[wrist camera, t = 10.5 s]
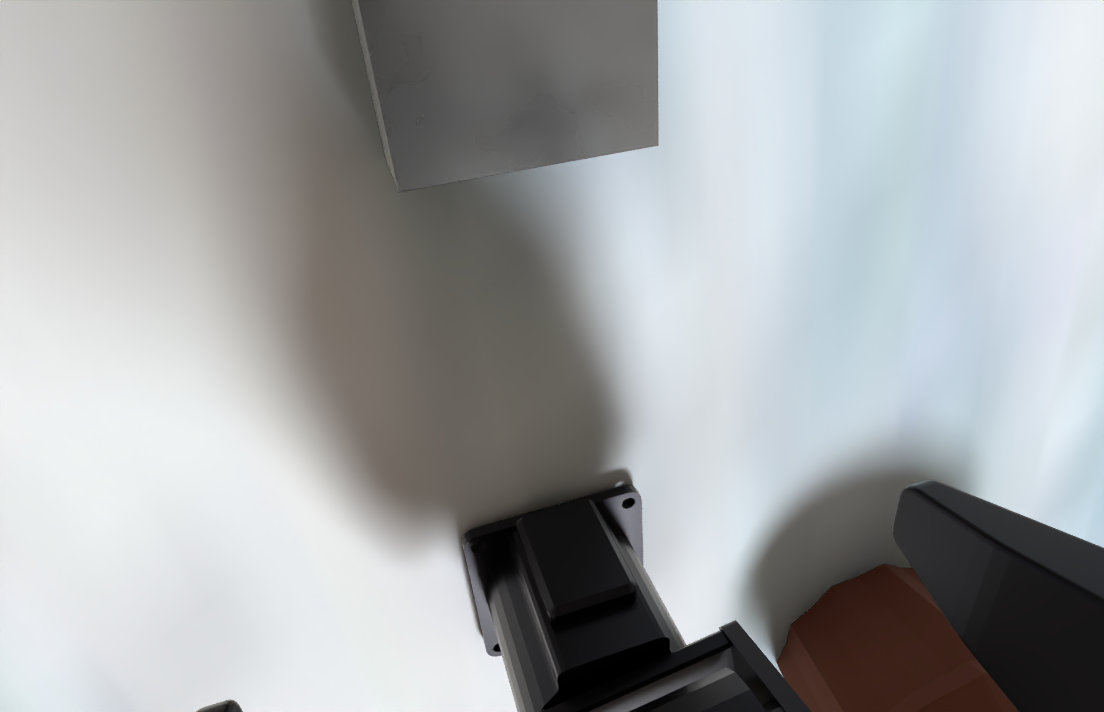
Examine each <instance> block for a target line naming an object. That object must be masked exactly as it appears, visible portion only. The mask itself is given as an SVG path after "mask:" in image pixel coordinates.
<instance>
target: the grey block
mask: <svg viewBox="0 0 1104 712" xmlns="http://www.w3.org/2000/svg"><path fill="white" fill-rule="evenodd" d="M351 1H352V6H353V10H354V15H355V20H356V24H357V29H358V33H359V38H360V43H361V47H362V52H363V56H364V61H365V66H366V70H367V75H368V79H369V84H370V89H371V93H372V98H373V103H374V107H375V112H376V116H377V121H378V126H379V130H380V135H381V139H382V144H383V149H384V153H385V158H386V161H387V163H388V166H389V169H390V171H391V174H392V176H393V179H394V182H395V184H396V187H397V189H398V192H403V191H408V190H414V189H419V188H425V187H431V186H436V185H442V184H447V183H453V182H458V181H464V180H469V179H475V178H481V177H486V176H492V175H497V174H503V173H508V172H514V171H519V170H525V169H531V168H536V167H542V166H547V165H553V164H558V163H564V162H569V161H575V160H581V159H586V158H592V157H597V156H603V155H608V154H614V153H619V152H625V151H630V150H636V149H642V148H647V147H653V146H658V14H657V0H351Z"/></svg>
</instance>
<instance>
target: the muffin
mask: <svg viewBox="0 0 1104 712" xmlns="http://www.w3.org/2000/svg"><path fill="white" fill-rule="evenodd" d="M777 664H778V666H779V669H780V671H781V673H782V675H783V677H784V679H785V680H786V681H787V683H788V684H789V685H790V686H791V687H792V689H793V690H794V691H795V692H796V693H797V695H798V696H799V697H800V698H801V699H802V701H803V702H804V703H805V704H806V705H807V707H808V708H809V709H810V710H811V712H1019V711H1018V710H1017V709H1016V708H1015V707H1014V705H1013V704H1012V703H1011V702H1010V700H1009V699H1008V698H1007V697H1006V695H1005V694H1004V693H1003V692H1002V690H1001V689H1000V688H999V687H998V685H997V684H996V683H995V682H994V680H993V679H992V678H991V677H990V676H989V674H988V673H987V672H986V671H985V669H984V668H983V667H982V666H981V664H980V663H979V662H978V661H977V659H976V658H975V657H974V656H973V654H972V653H971V652H970V651H969V649H968V648H967V647H966V645H965V644H964V643H963V641H962V640H961V639H960V637H959V636H958V635H957V633H956V632H955V630H954V629H953V628H952V626H951V625H950V623H949V622H948V620H947V619H946V617H945V616H944V614H943V613H942V611H941V610H940V608H939V607H938V605H937V604H936V602H935V601H934V599H933V598H932V596H931V595H930V593H929V592H928V590H927V589H926V587H925V586H924V584H923V583H922V581H921V580H920V578H919V577H918V575H917V574H916V572H915V571H914V569H913V568H899V567H895V566H890V565H886V564H882V565H880V566H878V567H876V568H874V569H872V570H870V571H868V572H866V573H864V574H862V575H860V576H858V577H855V578H853V579H850V580H847V581H844V582H842V583H839V584H836V585H834V586H832V587H831V588H830V589H829V590H828V591H827V592H826V593H825V594H824V595H823V596H822V597H821V598H820V599H819V600H818V602H817V603H816V604H815V605H814V606H813V607H812V608H810V609H809V610H808V611H807V612H806V613H804V614H803V615H802V616H801V617H800V618H799V619H797V620H796V621H795V622H794V623H793V624H791V627H790V631H789V634H788V638H787V642H786V645H785V647H784V649H783V651H782V653H781V655H780V657H779V659H778V662H777Z"/></svg>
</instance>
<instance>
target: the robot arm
mask: <svg viewBox="0 0 1104 712" xmlns="http://www.w3.org/2000/svg"><path fill="white" fill-rule="evenodd" d="M627 498H629V499H628V500H626V501H624V500H625V499H627ZM892 529H893V535H894V539H895V541H896V543H897V545H898V547H899V548H900V550H901V551H902V553H903V554H904V556H905V557H906V559H907V560H908V562H909V563H910V565H911V566H912V568H913V569H914V571H915V572H916V574H917V575H918V577H919V578H920V580H921V581H922V583H923V584H924V586H925V587H926V589H927V590H928V592H929V593H930V595H931V596H932V598H933V599H934V601H935V602H936V604H937V605H938V607H939V608H940V610H941V611H942V613H943V614H944V616H945V617H946V619H947V620H948V622H949V623H950V625H951V626H952V628H953V629H954V630H955V632H956V633H957V635H958V636H959V637H960V639H961V640H962V641H963V643H964V644H965V645H966V647H967V648H968V649H969V651H970V652H971V653H972V654H973V656H974V657H975V658H976V659H977V661H978V662H979V663H980V664H981V666H982V667H983V668H984V669H985V671H986V672H987V673H988V674H989V676H990V677H991V678H992V679H993V680H994V682H995V683H996V684H997V685H998V687H999V688H1000V689H1001V690H1002V692H1003V693H1004V694H1005V695H1006V697H1007V698H1008V699H1009V700H1010V702H1011V703H1012V704H1013V705H1014V707H1015V708H1016V709H1017V710H1018V711H1019V712H1104V548H1103V547H1100V546H1098V545H1095V544H1093V543H1090V542H1088V541H1085V540H1083V539H1080V538H1078V537H1075V536H1073V535H1070V534H1068V533H1065V532H1063V531H1060V530H1058V529H1055V528H1053V527H1050V526H1048V525H1045V524H1043V523H1040V522H1038V521H1035V520H1033V519H1030V518H1028V517H1025V516H1023V515H1020V514H1018V513H1015V512H1013V511H1010V510H1008V509H1005V508H1003V507H1000V506H998V505H995V504H993V503H990V502H988V501H985V500H983V499H980V498H978V497H975V496H973V495H970V494H968V493H965V492H963V491H960V490H958V489H955V488H953V487H950V486H948V485H945V484H943V483H940V482H938V481H934V480H925V481H921V482H918V483H915V484H912V485H909V486H906V487H905V488H904V489H903V490H902V491H901V494H900V497H899V501H898V505H897V509H896V514H895V518H894V522H893V527H892ZM481 541H482V542H481ZM476 542H481V543H479V544H474V543H476ZM473 544H474V545H473ZM462 545H463V549H464V554H465V558H466V563H467V567H468V572H469V576H470V581H471V585H472V590H473V594H474V599H475V603H476V607H477V612H478V616H479V621H480V625H481V630H482V634H483V639H484V643H485V647H486V651H487V653H488V654H489V655H491V656H501V655H502V657H503V661H504V664H505V668H506V671H507V675H508V678H509V682H510V686H511V689H512V693H513V696H514V700H515V704H516V707H517V711H518V712H811V710H810V709H809V708H808V707H807V705H806V704H805V703H804V702H803V701H802V699H801V698H800V697H799V696H798V695H797V693H796V692H795V691H794V690H793V689H792V687H791V686H790V685H789V684H788V683H787V681H786V680H785V679H784V678H783V677H782V675H781V674H780V673H779V672H778V670H777V669H776V668H775V667H774V666H773V664H772V663H771V662H770V661H769V660H768V658H767V657H766V656H765V655H764V654H763V652H762V651H761V650H760V649H759V648H758V646H757V645H756V644H755V643H754V642H753V640H752V639H751V638H750V637H749V636H748V634H747V633H746V632H745V631H744V629H743V628H742V627H741V626H740V625H739V623H738V622H737V621H736V620H735V621H732V622H730V623H728V624H726V625H724V626H721V627H719V629H720V631H718V632H716V633H713V634H711V635H709V636H707V637H704V638H702V639H700V640H698V641H696V642H693V643H691V644H689V645H686V644H685V642H684V640H683V638H682V636H681V634H680V633H679V631H678V629H677V627H676V625H675V624H674V622H673V620H672V618H671V616H670V614H669V613H668V611H667V609H666V607H665V605H664V603H663V602H662V600H661V598H660V596H659V594H658V592H657V591H656V589H655V587H654V585H653V583H652V582H651V580H650V578H649V576H648V574H647V572H646V571H645V569H644V567H643V538H642V501H641V496H640V494H639V493H638V491H637V490H636V488H635V487H634V486H631V485H625V486H621V487H617V488H614V489H610V490H607V491H603V492H600V493H596V494H593V495H589V496H586V497H583V498H579V499H576V500H572V501H569V502H565V503H562V504H558V505H555V506H551V507H548V508H544V509H541V510H537V511H534V512H530V513H527V514H523V515H520V516H516V517H513V518H509V519H506V520H502V521H499V522H495V523H492V524H488V525H485V526H481V527H478V528H474V529H472V530H470V531H468V532H467V533H466V534H465V535H464V537H463V538H462ZM197 712H243V711H242V709H241V708H240V706H239V705H238V703H237V702H236V701H234V700H226V701H223V702H220V703H217V704H213V705H210V706H207V707H204V708H201V709H200V710H198V711H197Z"/></svg>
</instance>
